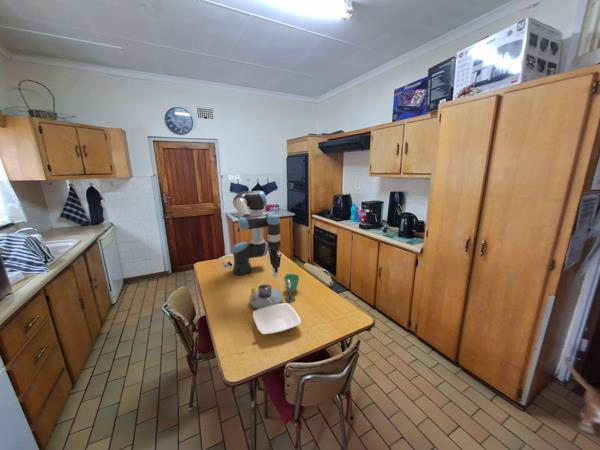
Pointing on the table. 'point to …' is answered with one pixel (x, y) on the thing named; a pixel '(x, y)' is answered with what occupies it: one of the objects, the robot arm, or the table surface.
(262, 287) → the cover
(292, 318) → the bowl
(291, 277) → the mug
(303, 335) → the table surface
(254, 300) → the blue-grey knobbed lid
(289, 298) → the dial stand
